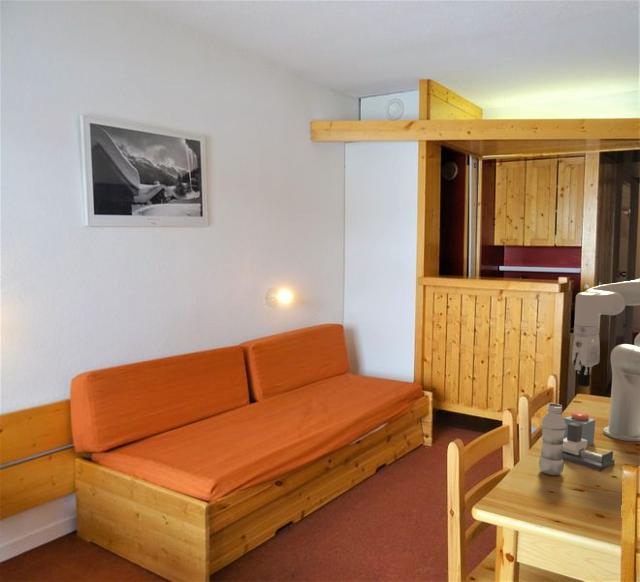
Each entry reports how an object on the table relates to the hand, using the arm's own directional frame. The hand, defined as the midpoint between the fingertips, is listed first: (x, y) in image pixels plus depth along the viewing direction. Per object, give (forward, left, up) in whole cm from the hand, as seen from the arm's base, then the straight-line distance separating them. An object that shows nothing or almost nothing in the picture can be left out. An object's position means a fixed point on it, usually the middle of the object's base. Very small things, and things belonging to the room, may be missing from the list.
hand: (583, 385), depth 196 cm
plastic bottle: (+33, +8, -19) cm, 39 cm away
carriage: (+15, +5, -17) cm, 23 cm away
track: (+15, +9, -19) cm, 26 cm away
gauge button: (+1, 0, -15) cm, 15 cm away
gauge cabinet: (+1, 0, -19) cm, 19 cm away
